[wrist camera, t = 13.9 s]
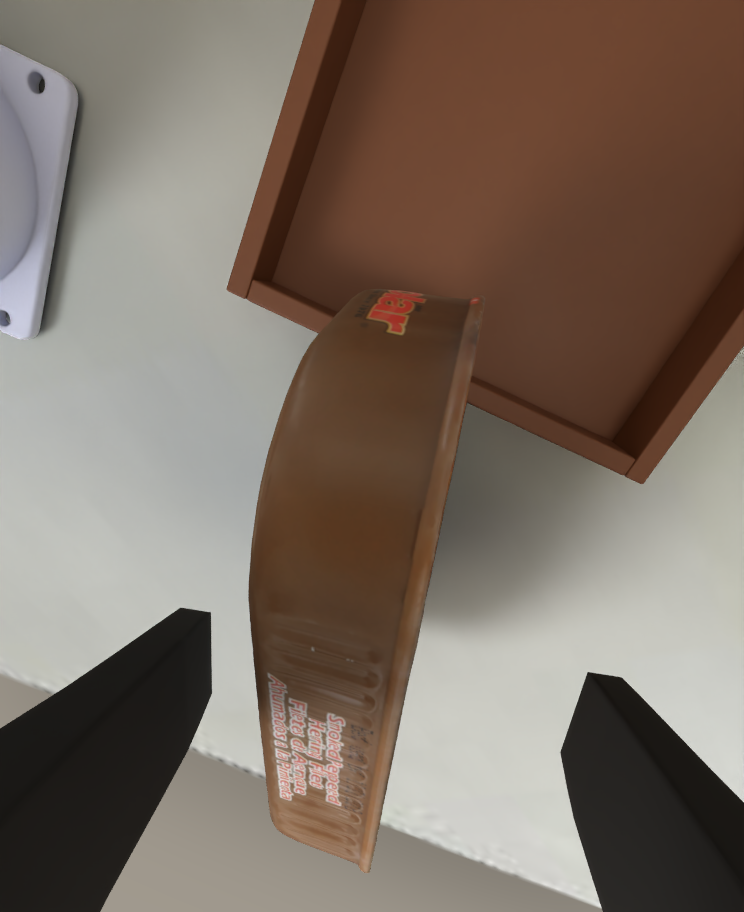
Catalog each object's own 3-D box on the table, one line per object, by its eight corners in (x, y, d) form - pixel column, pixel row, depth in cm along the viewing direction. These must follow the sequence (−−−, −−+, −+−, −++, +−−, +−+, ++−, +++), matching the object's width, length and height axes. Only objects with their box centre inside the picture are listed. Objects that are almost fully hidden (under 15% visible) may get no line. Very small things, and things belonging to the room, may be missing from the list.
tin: (414, 653, 19) (380, 936, 12) (341, 637, 19) (264, 902, 12) (494, 266, 11) (540, 403, 4) (368, 252, 11) (196, 353, 4)
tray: (252, 292, 15) (225, 289, 13) (586, -730, 8) (642, -1073, 6) (612, 460, 15) (643, 485, 13) (1181, -369, 9) (1413, -573, 7)
